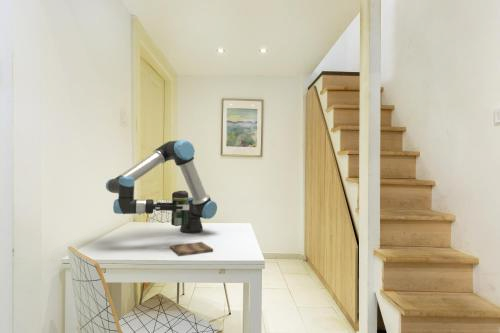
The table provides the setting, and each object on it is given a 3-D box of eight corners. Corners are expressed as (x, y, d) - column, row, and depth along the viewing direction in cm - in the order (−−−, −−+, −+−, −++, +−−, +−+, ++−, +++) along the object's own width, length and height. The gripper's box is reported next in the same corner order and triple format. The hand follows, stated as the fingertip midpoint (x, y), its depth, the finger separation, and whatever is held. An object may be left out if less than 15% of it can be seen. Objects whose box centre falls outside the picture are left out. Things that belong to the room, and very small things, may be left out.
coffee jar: (176, 222, 170) (177, 189, 170) (189, 223, 169) (190, 190, 169) (168, 225, 161) (169, 191, 161) (182, 226, 159) (183, 191, 160)
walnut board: (201, 244, 171) (201, 241, 171) (212, 251, 157) (213, 248, 157) (170, 248, 162) (170, 245, 162) (179, 256, 148) (179, 253, 148)
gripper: (147, 210, 171) (187, 210, 176) (143, 216, 150) (189, 216, 156) (147, 197, 171) (188, 197, 176) (143, 201, 150) (189, 201, 156)
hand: (188, 206), depth 166 cm, fingers closed on coffee jar, 9 cm apart
